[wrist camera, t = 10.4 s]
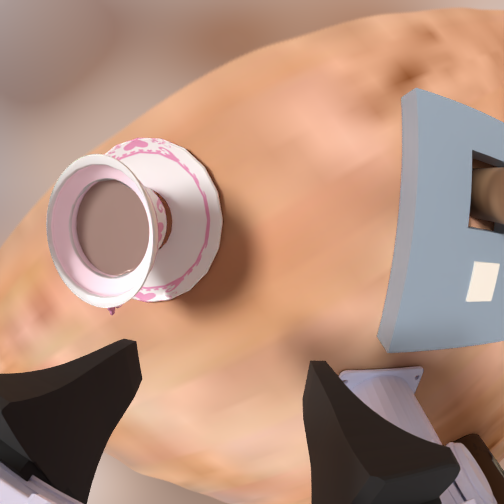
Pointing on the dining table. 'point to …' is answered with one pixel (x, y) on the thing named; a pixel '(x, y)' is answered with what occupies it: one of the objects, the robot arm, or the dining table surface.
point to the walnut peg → (487, 194)
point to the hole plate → (443, 232)
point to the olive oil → (486, 464)
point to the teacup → (133, 223)
